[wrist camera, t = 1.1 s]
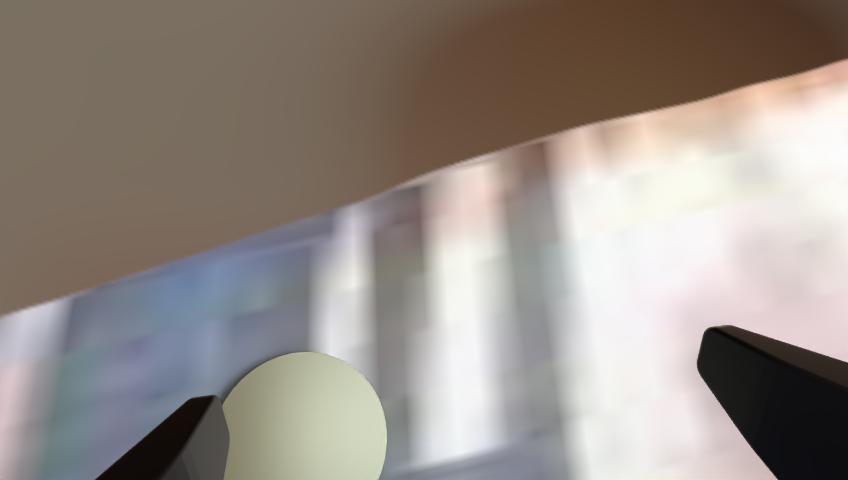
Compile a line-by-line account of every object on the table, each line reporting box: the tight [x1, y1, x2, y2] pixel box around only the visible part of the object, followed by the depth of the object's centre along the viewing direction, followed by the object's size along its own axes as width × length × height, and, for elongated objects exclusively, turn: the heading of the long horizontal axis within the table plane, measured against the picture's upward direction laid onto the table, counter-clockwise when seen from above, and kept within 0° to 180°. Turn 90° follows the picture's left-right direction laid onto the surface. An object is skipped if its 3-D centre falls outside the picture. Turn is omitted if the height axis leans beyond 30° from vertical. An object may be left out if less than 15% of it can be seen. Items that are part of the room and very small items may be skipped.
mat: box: [222, 352, 387, 480], centre depth 20 cm, size 8×8×1 cm
